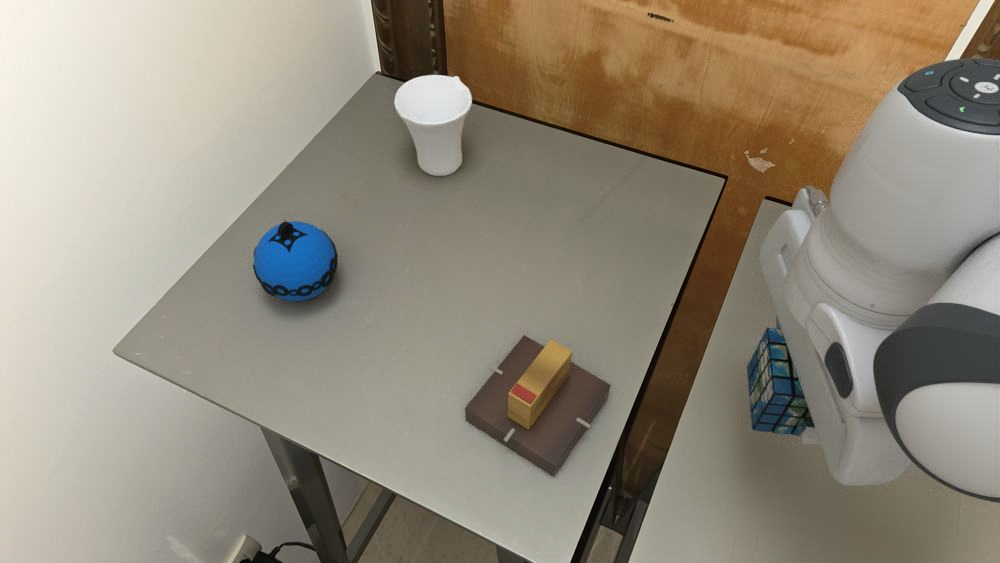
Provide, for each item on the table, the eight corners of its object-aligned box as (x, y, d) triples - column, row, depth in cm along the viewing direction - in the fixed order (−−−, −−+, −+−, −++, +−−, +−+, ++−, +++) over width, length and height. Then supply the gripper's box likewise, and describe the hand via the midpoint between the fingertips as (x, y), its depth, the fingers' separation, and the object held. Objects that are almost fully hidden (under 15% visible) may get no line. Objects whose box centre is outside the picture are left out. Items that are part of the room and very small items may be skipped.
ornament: (309, 330, 79) (288, 271, 71) (247, 295, 81) (220, 235, 73) (360, 275, 83) (345, 213, 75) (299, 243, 86) (279, 181, 78)
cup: (490, 155, 95) (489, 91, 87) (440, 197, 90) (434, 133, 82) (437, 125, 98) (432, 60, 90) (387, 163, 94) (377, 99, 86)
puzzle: (751, 431, 60) (773, 394, 55) (746, 366, 63) (766, 326, 59) (829, 440, 59) (858, 403, 54) (819, 374, 63) (845, 334, 58)
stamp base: (616, 396, 74) (620, 382, 72) (555, 485, 68) (557, 474, 66) (521, 341, 78) (522, 326, 76) (456, 421, 72) (455, 408, 70)
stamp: (548, 363, 73) (551, 336, 70) (569, 376, 72) (573, 349, 69) (507, 416, 70) (507, 391, 66) (528, 430, 69) (530, 405, 65)
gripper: (768, 174, 55) (723, 288, 66) (868, 430, 43) (792, 518, 53) (853, 170, 55) (794, 285, 66) (977, 424, 43) (879, 513, 54)
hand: (793, 391), depth 60 cm, fingers closed on puzzle, 6 cm apart
